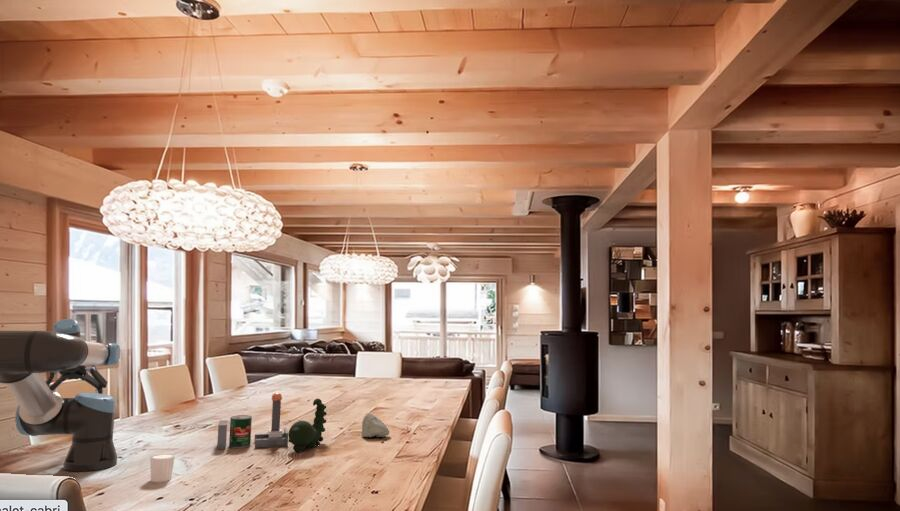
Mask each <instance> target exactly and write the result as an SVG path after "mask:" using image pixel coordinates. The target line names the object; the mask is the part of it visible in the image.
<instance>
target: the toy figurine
mask: <svg viewBox="0 0 900 511" xmlns="http://www.w3.org/2000/svg"><path fill="white" fill-rule="evenodd" d="M312 405H313V406H315V408H316V409H315V412H314V413H315V414H314V416H315V417H314V418H313V424H311V423H310V422H308V421H307V420H298V421H296V422H294V423H293V424H292V425H291V426H290V428H289V430H288V443H291V444H292V446H293V447H292V448H293V451H294V452H296V453H303V451H304V450H305V449H306V447H310V448H311V449H313V448H315V447H319V446H320V444H321V442H323V441H324V437H323V436H322V435H323V434H322V433H324V432H326V428H325V426H324V424H327V419H325V416H327V414H328V413H327V412H326V411H325V410H326V409H327V406H326V405H325V404H324V403H323V402H322V400H321V398H315V399H314V400H313V403H312ZM315 445H316V446H315ZM318 445H319V446H318Z"/></svg>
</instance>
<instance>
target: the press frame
mask: <svg viewBox="0 0 900 511" xmlns="http://www.w3.org/2000/svg"><path fill="white" fill-rule="evenodd" d="M228 424H229V423H228V420H227V419H224V420H219V422H218V428H217V442H216V445H217V446H216V450H217V451H220V450H221V451H222V449H224V450H227V449H226V448H227V442H228V441H227V439H228V438H227V437H228V436H227V435H228ZM288 434H289V430H288V429H287V427H283V432H282V438H271V439H268V433H255V434H254V442H253V443H255V444H254V449H262V448H278V447H277V446H284V447H288V446H289V435H288Z"/></svg>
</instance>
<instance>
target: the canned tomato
mask: <svg viewBox="0 0 900 511" xmlns="http://www.w3.org/2000/svg"><path fill="white" fill-rule="evenodd" d="M229 418H230V419H229V420H230V421H229V422H230V423H229V441H228V447H229V448H232V449H243V448H248V446H249V447H250V446H251V441H252V440H251V439H252V438H251V437H252V421H253V420H252V418H253V417H252V416H251V415H245V414H244V415H243V414H241V415H239V414H238V415H232V416H230V417H229Z"/></svg>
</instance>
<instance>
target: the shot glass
mask: <svg viewBox="0 0 900 511" xmlns="http://www.w3.org/2000/svg"><path fill="white" fill-rule="evenodd" d="M149 460H150V461H149V464H150V482H153V483H163V482H168V481H170V480H171V479H172V477H173V476H172V475H173V468H174V463H175V455H174V454H172V453H161V454H155V455H151V456H150V458H149Z"/></svg>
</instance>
